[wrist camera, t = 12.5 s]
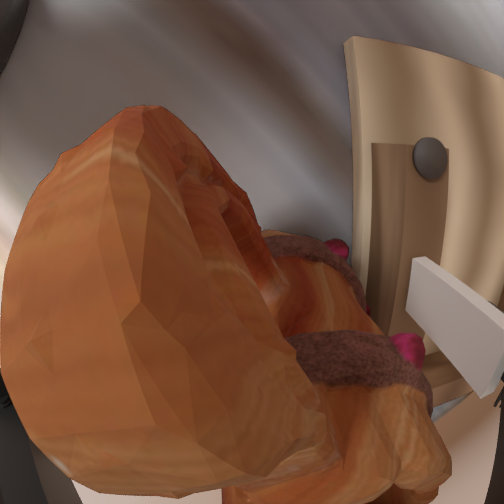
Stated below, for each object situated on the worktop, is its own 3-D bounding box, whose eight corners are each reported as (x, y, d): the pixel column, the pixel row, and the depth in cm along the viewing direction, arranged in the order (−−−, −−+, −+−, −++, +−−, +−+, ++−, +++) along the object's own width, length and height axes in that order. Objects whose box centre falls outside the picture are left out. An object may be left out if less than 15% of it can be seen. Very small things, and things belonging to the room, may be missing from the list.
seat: (337, 386, 21) (355, 437, 16) (343, 43, 13) (382, 10, 8) (492, 342, 22) (520, 371, 17) (526, 95, 13) (570, 97, 8)
